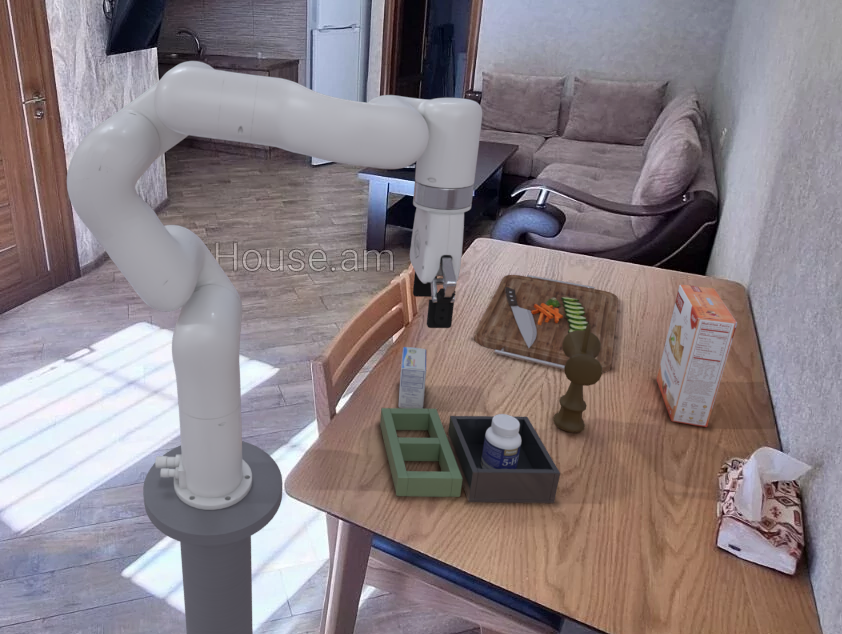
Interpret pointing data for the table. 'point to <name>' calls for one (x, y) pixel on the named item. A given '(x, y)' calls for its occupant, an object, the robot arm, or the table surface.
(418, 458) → the rack
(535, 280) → the chopping board
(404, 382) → the medicine box
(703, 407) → the cracker box
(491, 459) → the pill bottle
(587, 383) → the kendama
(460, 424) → the dark grey open bin
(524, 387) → the table surface
